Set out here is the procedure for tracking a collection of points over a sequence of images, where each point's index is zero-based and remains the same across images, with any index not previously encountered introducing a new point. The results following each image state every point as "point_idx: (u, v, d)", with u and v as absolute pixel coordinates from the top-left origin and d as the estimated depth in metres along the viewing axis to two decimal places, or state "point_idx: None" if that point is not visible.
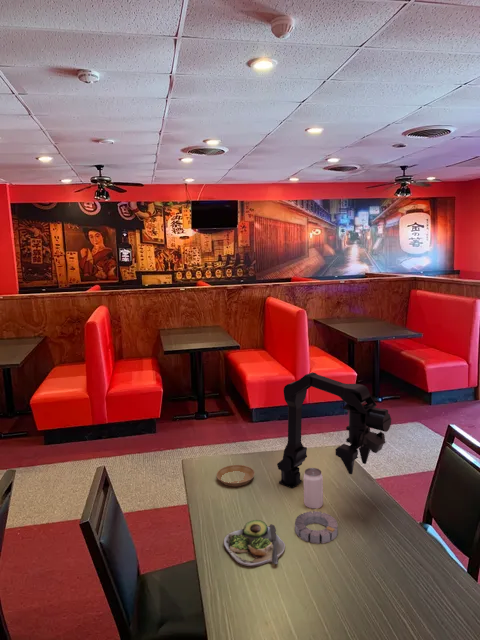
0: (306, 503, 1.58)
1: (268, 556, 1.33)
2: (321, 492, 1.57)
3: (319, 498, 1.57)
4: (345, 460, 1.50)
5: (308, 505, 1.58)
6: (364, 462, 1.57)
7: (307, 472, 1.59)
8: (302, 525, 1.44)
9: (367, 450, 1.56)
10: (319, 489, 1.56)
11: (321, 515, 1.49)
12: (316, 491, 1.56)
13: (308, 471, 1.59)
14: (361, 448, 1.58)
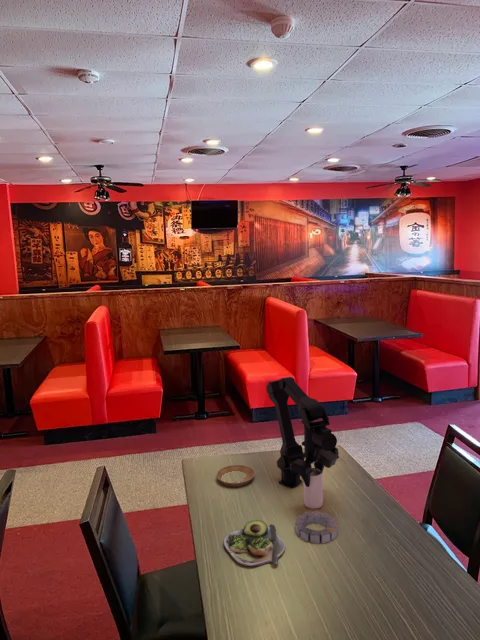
0: (306, 503, 1.58)
1: (268, 556, 1.33)
2: (321, 492, 1.57)
3: (319, 498, 1.57)
4: (302, 473, 1.56)
5: (308, 505, 1.58)
6: None
7: None
8: (302, 525, 1.44)
9: (321, 466, 1.60)
10: (319, 489, 1.56)
11: (321, 515, 1.49)
12: (316, 491, 1.56)
13: None
14: (316, 464, 1.62)
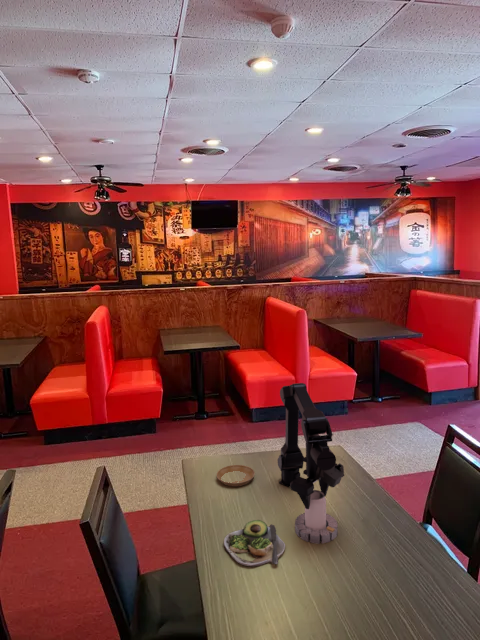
0: None
1: (268, 556, 1.33)
2: (324, 517, 1.43)
3: (321, 524, 1.42)
4: (301, 494, 1.40)
5: None
6: (324, 495, 1.47)
7: None
8: (302, 525, 1.44)
9: None
10: (321, 514, 1.42)
11: None
12: (318, 517, 1.42)
13: None
14: (321, 480, 1.48)
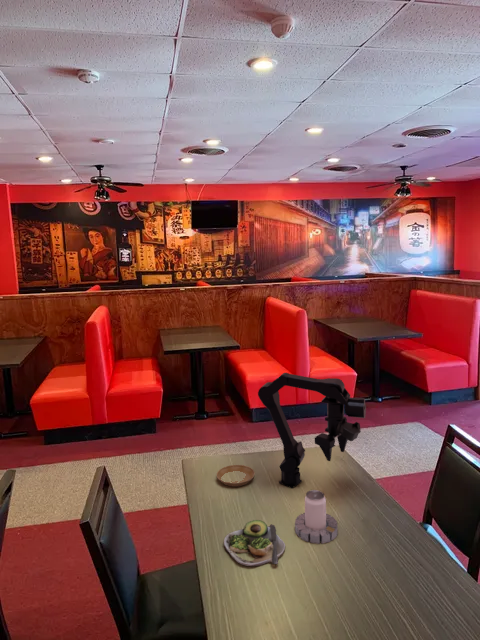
0: None
1: (267, 556, 1.33)
2: (324, 517, 1.43)
3: (321, 524, 1.42)
4: (324, 448, 1.63)
5: None
6: (342, 450, 1.70)
7: (309, 495, 1.44)
8: (302, 525, 1.44)
9: (345, 439, 1.69)
10: (321, 514, 1.42)
11: None
12: (318, 517, 1.42)
13: (310, 494, 1.45)
14: (340, 438, 1.71)
